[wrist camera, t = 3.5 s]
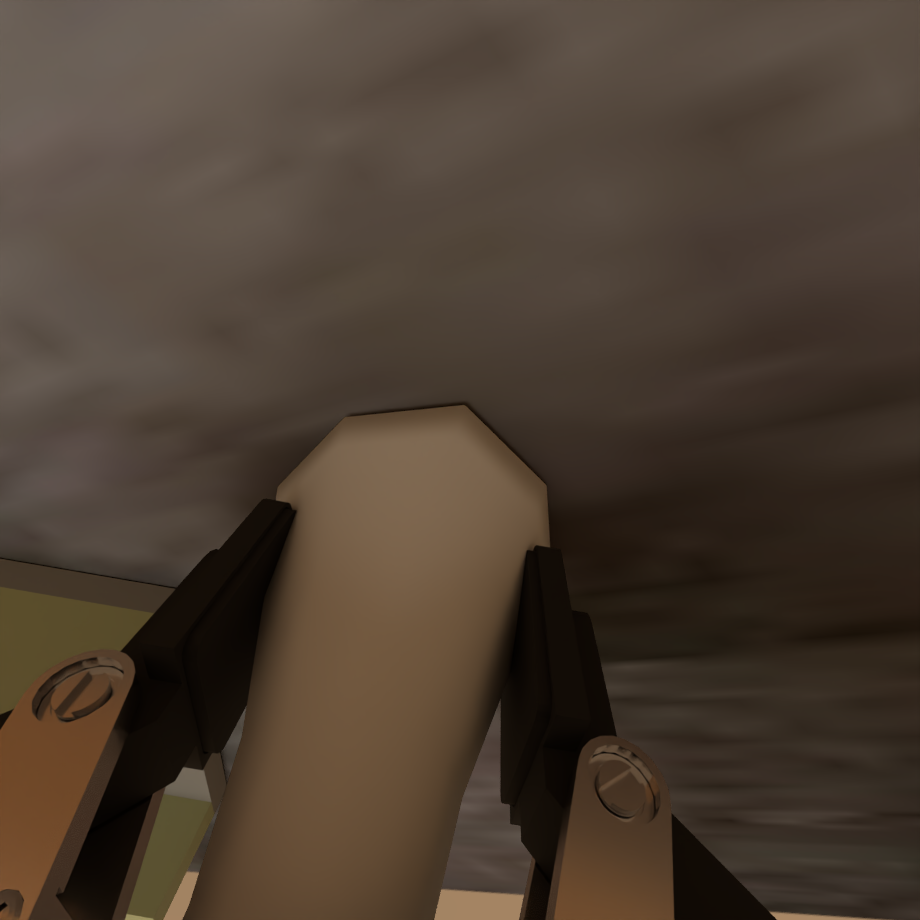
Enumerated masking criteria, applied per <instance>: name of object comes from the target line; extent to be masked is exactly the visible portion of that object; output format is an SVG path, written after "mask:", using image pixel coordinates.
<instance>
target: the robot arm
mask: <svg viewBox="0 0 920 920" xmlns="http://www.w3.org/2000/svg"><path fill="white" fill-rule="evenodd" d="M296 512H297V510H292V506H291V504H290V503H288V502H282V501H277V500H271V499H263V500H262V501H261V502H260V503H259V504H258V505H257V506H256V507H255V509H254V510H253V511H252V512H251V513H250V514H249V515H248V517H247V518H246V519H245V520H244V521H243V522H242V524H241V525H240V526H239V527H238V528H237V529H236V531H235V532H234V533H233V534H232V535H231V536H230V537H229V539H228V540H227V541H226V542H225V543H224V544H223V546H222V547H221V548H220V549H219V550H217V549H215V550H212V551H210V552H209V553H208V554H207V555H206V556H205V557H204V558H203V559H202V560H201V561H200V562H199V563H198V564H197V566H196V567H195V568H194V569H193V570H192V571H191V572H190V573H189V575H188V576H187V577H186V578H185V579H184V580H183V581H182V582H181V584H180V585H179V586H178V587H177V588H176V589H175V590H174V591H173V593H172V594H171V595H170V596H169V597H168V598H167V599H166V600H165V602H164V603H163V604H162V605H161V606H160V607H159V608H158V609H157V611H156V612H155V613H154V614H153V615H152V616H151V617H150V618H149V620H148V621H147V622H146V623H145V624H144V625H143V626H142V627H141V629H140V630H139V631H138V632H137V633H136V634H135V635H134V636H133V638H132V639H131V640H130V641H129V642H128V643H127V644H126V645H125V647H124V648H123V649H122V650H121V651H117V650H109V649H99V650H93V651H88V652H83V653H81V654H78V655H75V656H72V657H70V658H67V659H65V660H63V661H62V662H60V663H58V664H56V665H55V666H53V667H51V668H50V669H48V670H47V671H46V672H45V673H43V674H42V675H41V676H40V677H38V678H37V679H36V680H35V681H34V682H33V683H32V685H31V686H30V687H29V688H28V689H27V690H26V692H25V693H24V694H23V696H22V697H21V699H20V700H19V702H18V704H17V705H16V707H15V708H14V709H12V710H10V711H7V712H5V713H2V714H0V920H125V918H126V915H127V911H128V908H129V905H130V902H131V898H132V895H133V892H134V889H135V885H136V882H137V879H138V876H139V872H140V869H141V866H142V863H143V859H144V856H145V853H146V850H147V846H148V843H149V840H150V837H151V833H152V830H153V827H154V824H155V820H156V817H157V814H158V811H159V807H160V804H161V801H162V798H163V794H164V791H165V788H166V786H168V785H169V784H171V783H173V782H175V781H176V779H177V777H178V775H179V774H180V772H181V770H182V769H183V767H185V768H191V769H196V770H202V771H203V769H204V767H205V765H206V763H207V762H208V760H209V758H210V756H211V754H212V753H216V754H218V753H220V752H221V751H222V750H223V748H224V747H225V745H226V743H227V741H228V739H229V738H230V736H231V734H232V732H233V730H234V728H235V726H236V724H237V722H238V720H239V719H240V717H241V715H242V713H243V711H244V709H245V707H246V705H247V701H248V695H249V689H250V682H251V676H252V670H253V664H254V657H255V651H256V645H257V639H258V632H259V626H260V620H261V614H262V607H263V601H264V597H265V594H266V591H267V589H268V586H269V584H270V581H271V578H272V576H273V573H274V570H275V568H276V565H277V562H278V560H279V557H280V554H281V552H282V549H283V546H284V544H285V541H286V538H287V536H288V533H289V530H290V528H291V525H292V522H293V520H294V517H295V514H296ZM501 802H502V803H504V804H510V824H514V825H519V826H521V841H522V843H523V844H524V846H525V847H526V848H527V850H528V851H529V852H530V854H531V855H532V859H531V864H530V869H529V874H528V879H527V884H526V888H525V893H524V898H523V903H522V908H521V913H520V918H519V920H776V919H775V917H774V916H772V914H771V913H770V912H769V911H768V910H767V909H766V908H765V907H764V906H763V905H762V904H761V903H760V902H759V901H758V900H757V899H756V898H755V897H754V896H753V895H752V894H751V893H750V892H749V891H748V890H747V889H746V888H745V887H744V886H743V885H742V884H741V883H740V882H739V881H738V880H737V879H736V878H735V877H734V876H733V875H732V874H731V873H730V872H729V871H728V870H727V869H726V868H725V867H724V866H723V865H722V864H721V863H720V862H719V861H718V860H717V859H716V858H715V857H714V856H713V855H712V854H711V853H710V852H709V851H708V850H707V849H706V848H705V847H704V846H703V845H702V844H701V843H700V842H699V841H698V840H697V839H696V838H695V836H694V835H693V834H692V833H691V832H690V831H689V830H688V829H687V828H686V827H685V826H684V825H683V824H682V823H681V822H680V821H679V820H678V819H677V818H676V817H675V816H674V815H673V814H672V813H671V801H670V795H669V789H668V787H667V785H666V782H665V780H664V778H663V775H662V773H661V772H660V770H659V769H658V768H657V766H656V765H655V763H654V762H653V761H652V759H651V758H650V757H649V756H647V755H646V754H645V753H644V752H643V751H642V750H641V749H640V748H639V747H637V746H635V745H634V744H632V743H631V742H629V741H627V740H625V739H622V738H619V737H617V735H616V730H615V726H614V721H613V717H612V712H611V708H610V703H609V699H608V694H607V690H606V685H605V681H604V676H603V672H602V667H601V663H600V658H599V654H598V649H597V645H596V640H595V636H594V631H593V627H592V622H591V619H590V616H589V615H588V614H587V613H584V612H578V611H572V610H571V604H570V599H569V593H568V588H567V582H566V576H565V571H564V565H563V559H562V554H561V550H560V549H557V548H551V547H545V546H539V545H536V546H535V547H534V549H533V551H531V550H527V553H526V561H525V568H524V575H523V583H522V590H521V597H520V604H519V612H518V619H517V626H516V634H515V641H514V648H513V656H512V663H511V671H510V675H509V677H508V680H507V682H506V685H505V688H504V690H503V693H502V695H501Z"/></svg>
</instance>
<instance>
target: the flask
mask: <svg viewBox="0 0 920 920" xmlns="http://www.w3.org/2000/svg"><path fill="white" fill-rule="evenodd" d="M276 500H277V501H282V502H288V503H290V504H291V506H292V510H297V512H296V514H295V517H294V520H293V522H292V525H291V528H290V530H289V533H288V536H287V538H286V541H285V544H284V546H283V549H282V552H281V554H280V557H279V560H278V562H277V565H276V568H275V570H274V573H273V576H272V578H271V581H270V584H269V586H268V589H267V591H266V594H265V597H264V601H263V607H262V614H261V620H260V626H259V632H258V639H257V645H256V651H255V657H254V664H253V670H252V676H251V682H250V689H249V695H248V701H247V707H246V714H245V720H244V726H243V732H242V738H241V741H240V744H239V747H238V751H237V754H236V757H235V760H234V763H233V767H232V770H231V773H230V776H229V779H228V783H227V786H226V789H225V792H224V795H223V799H222V802H221V805H220V808H219V811H218V814H217V818H216V821H215V824H214V827H213V830H212V834H211V837H210V840H209V843H208V846H207V850H206V853H205V856H204V859H203V862H202V866H201V869H200V872H199V875H198V878H197V882H196V885H195V888H194V891H193V894H192V898H191V901H190V904H189V906H188V909H187V911H186V913H185V915H184V917H183V920H434V917H435V913H436V908H437V904H438V900H439V896H440V892H441V887H442V883H443V879H444V874H445V870H446V866H447V861H448V857H449V853H450V848H451V844H452V840H453V836H454V831H455V827H456V823H457V818H458V814H459V810H460V805H461V801H462V797H463V794H464V792H465V789H466V787H467V784H468V781H469V779H470V776H471V774H472V771H473V768H474V766H475V763H476V761H477V758H478V755H479V753H480V750H481V748H482V745H483V742H484V740H485V737H486V735H487V732H488V729H489V727H490V724H491V721H492V719H493V716H494V714H495V711H496V708H497V706H498V703H499V701H500V698H501V695H502V693H503V690H504V688H505V685H506V682H507V680H508V677H509V675H510V671H511V663H512V656H513V648H514V641H515V634H516V626H517V619H518V612H519V604H520V597H521V590H522V583H523V575H524V568H525V561H526V553H527V550H531V551H533V549H534V547H535V546H536V545H539V546H545V547H550V533H549V516H548V499H547V485H546V484H545V483H544V482H543V481H542V480H541V479H540V478H539V477H538V476H537V475H536V474H535V473H534V472H532V471H531V470H530V469H529V468H528V467H527V466H526V465H525V464H524V463H523V462H522V461H521V460H520V459H519V458H518V457H517V456H516V455H515V454H514V453H513V452H512V451H511V450H510V449H509V448H508V447H507V446H506V445H505V444H504V443H503V442H502V441H501V440H500V439H499V438H498V437H497V436H496V435H495V434H494V433H493V432H492V431H491V430H490V429H489V428H488V427H487V426H486V425H485V424H484V423H483V422H482V421H481V420H480V419H479V418H478V417H477V416H475V415H474V414H473V413H472V412H471V411H470V410H469V409H468V408H467V407H466V406H465V405H459V406H449V407H439V408H430V409H420V410H410V411H400V412H390V413H381V414H371V415H361V416H351V417H344V418H343V419H342V420H341V421H340V422H339V423H338V424H337V426H336V427H335V428H334V429H333V430H332V431H331V432H330V433H329V434H328V435H327V436H326V437H325V438H324V439H323V440H322V441H321V442H320V443H319V444H318V445H317V446H316V447H315V448H314V449H313V451H312V452H311V453H310V454H309V455H308V456H307V457H306V458H305V459H304V460H303V461H302V462H301V463H300V464H299V465H298V466H297V467H296V468H295V469H294V470H293V471H292V472H291V473H290V474H289V475H288V477H287V478H286V479H285V480H284V481H283V482H282V483H281V484H280V485H279V486H278V488H277V494H276Z"/></svg>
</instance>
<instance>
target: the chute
mask: <svg viewBox="0 0 920 920" xmlns="http://www.w3.org/2000/svg"><path fill="white" fill-rule="evenodd" d="M174 590H175V589H174V588H168V587H162V586H156V585H151V584H145V583H139V582H133V581H127V580H121V579H116V578H110V577H104V576H98V575H92V574H86V573H81V572H75V571H69V570H63V569H57V568H51V567H46V566H40V565H34V564H28V563H22V562H16V561H11V560H5V559H0V714H2V713H5V712H7V711H10V710H12V709H14V708H15V707H16V705H17V704H18V702H19V700H20V699H21V697H22V696H23V694H24V693H25V692H26V690H27V689H28V688H29V687H30V686H31V685H32V683H33V682H34V681H35V680H36V679H37V678H38V677H40V676H41V675H42V674H43V673H45V672H46V671H47V670H48V669H50V668H51V667H53V666H55V665H56V664H58V663H60V662H62V661H63V660H65V659H67V658H70V657H72V656H75V655H78V654H81V653H83V652H88V651H93V650H99V649H109V650H117V651H121V650H122V649H123V648H124V647H125V645H126V644H127V643H128V642H129V641H130V640H131V639H132V638H133V636H134V635H135V634H136V633H137V632H138V631H139V630H140V629H141V627H142V626H143V625H144V624H145V623H146V622H147V621H148V620H149V618H150V617H151V616H152V615H153V614H154V613H155V612H156V611H157V609H158V608H159V607H160V606H161V605H162V604H163V603H164V602H165V600H166V599H167V598H168V597H169V596H170V595H171V594H172V593H173V591H174ZM226 786H227V785H226V780H225V775H224V770H223V765H222V759H221V754H220V753H218V754H216V753H212V754H211V756H210V758H209V760H208V762H207V763H206V765H205V767H204V769H203V771H202V770H196V769H191V768H185V767H183V769H182V770H181V772H180V774H179V775H178V777H177V779H176V781H175V782H173V783H171V784H169V785H168V786H166V788H165V791H164V794H163V798H162V801H161V804H160V807H159V811H158V814H157V817H156V820H155V824H154V827H153V830H152V833H151V837H150V840H149V843H148V846H147V850H146V853H145V856H144V859H143V863H142V866H141V869H140V872H139V876H138V879H137V882H136V885H135V889H134V892H133V895H132V898H131V902H130V905H129V908H128V911H127V915H126V918H125V920H163V919H164V917H165V915H166V913H167V911H168V908H169V906H170V904H171V902H172V900H173V898H174V896H175V894H176V892H177V890H178V888H179V886H180V884H181V882H182V880H183V877H184V875H185V874H186V872H187V869H188V867H189V865H190V863H191V861H192V859H193V857H194V855H195V853H196V851H197V849H198V847H199V845H200V843H201V841H202V839H203V837H204V835H205V832H206V830H207V828H208V826H209V824H210V822H211V820H212V818H213V816H214V814H215V812H216V810H217V808H218V806H219V804H220V802H221V800H222V798H223V795H224V792H225V789H226Z"/></svg>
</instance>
